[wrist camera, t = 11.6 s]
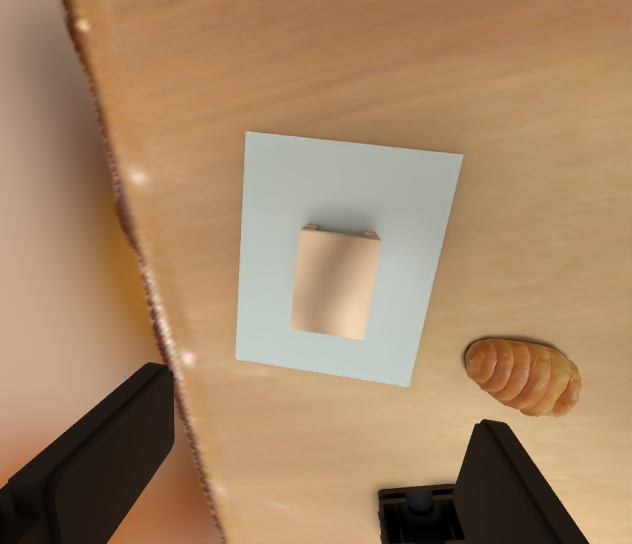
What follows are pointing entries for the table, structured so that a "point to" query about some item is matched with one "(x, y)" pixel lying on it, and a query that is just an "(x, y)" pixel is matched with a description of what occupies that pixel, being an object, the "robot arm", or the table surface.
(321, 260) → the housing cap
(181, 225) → the table surface
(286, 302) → the base plate
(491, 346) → the pastry
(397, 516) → the end cap
